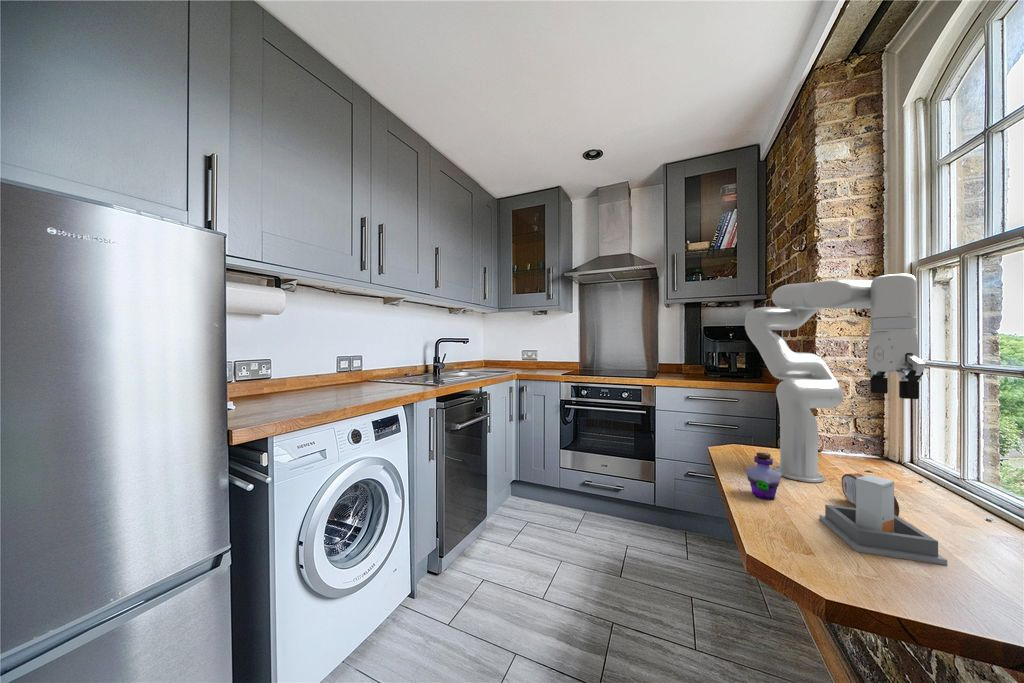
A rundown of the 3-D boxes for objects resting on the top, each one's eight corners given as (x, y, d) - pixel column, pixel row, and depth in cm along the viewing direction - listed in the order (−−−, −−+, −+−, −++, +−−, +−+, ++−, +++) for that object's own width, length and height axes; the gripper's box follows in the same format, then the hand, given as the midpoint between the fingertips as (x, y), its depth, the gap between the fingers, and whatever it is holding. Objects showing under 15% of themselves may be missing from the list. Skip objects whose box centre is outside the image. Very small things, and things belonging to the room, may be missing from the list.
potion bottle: (750, 500, 95) (750, 456, 95) (741, 487, 103) (740, 447, 103) (788, 505, 92) (788, 459, 92) (775, 492, 100) (775, 450, 100)
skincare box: (881, 542, 73) (881, 485, 73) (855, 532, 77) (854, 477, 77) (895, 536, 75) (895, 480, 75) (869, 526, 79) (868, 474, 79)
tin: (901, 527, 81) (900, 491, 81) (885, 525, 81) (884, 490, 82) (852, 499, 96) (851, 469, 96) (838, 498, 96) (838, 468, 96)
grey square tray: (819, 519, 84) (819, 502, 84) (893, 528, 80) (893, 511, 80) (856, 551, 71) (856, 531, 71) (947, 565, 67) (947, 544, 67)
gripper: (851, 327, 94) (851, 390, 94) (899, 323, 77) (900, 400, 77) (886, 327, 92) (887, 392, 91) (944, 323, 75) (945, 402, 75)
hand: (893, 395), depth 84 cm, fingers open, 9 cm apart
